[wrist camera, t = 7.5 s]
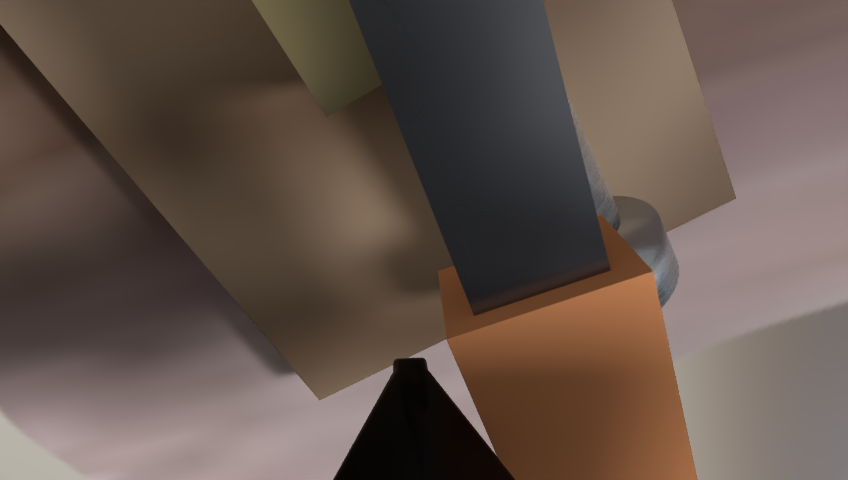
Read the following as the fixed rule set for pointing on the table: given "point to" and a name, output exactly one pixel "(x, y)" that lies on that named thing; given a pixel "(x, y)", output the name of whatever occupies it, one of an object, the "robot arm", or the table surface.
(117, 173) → the table surface
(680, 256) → the table surface
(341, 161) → the valve board
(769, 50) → the table surface
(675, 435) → the valve lever
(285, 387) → the table surface
